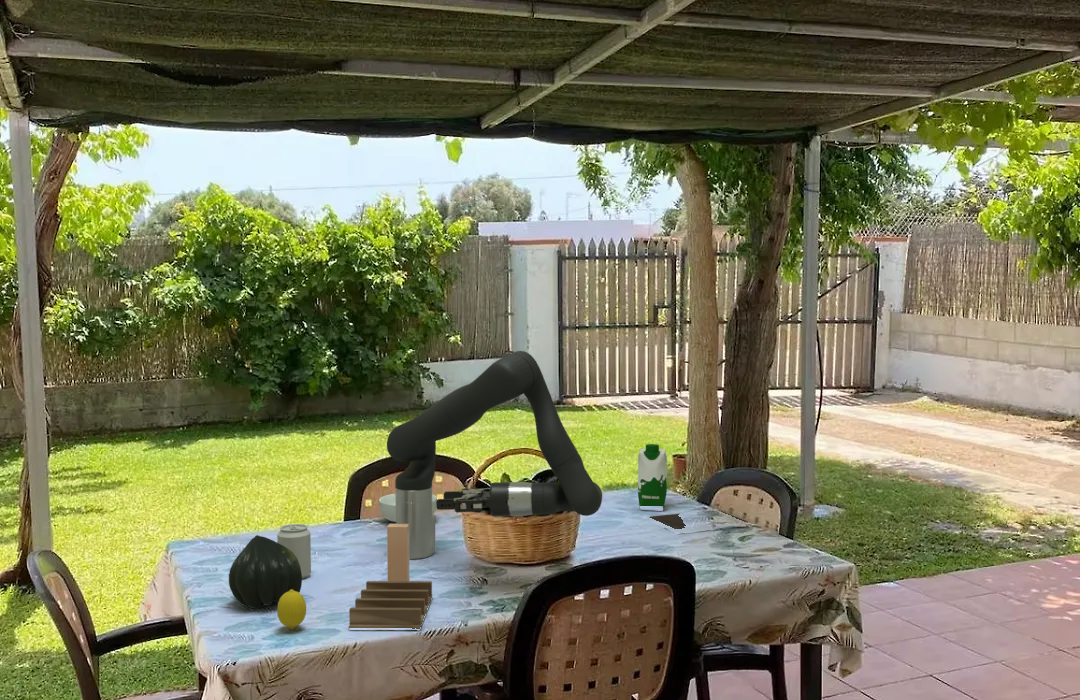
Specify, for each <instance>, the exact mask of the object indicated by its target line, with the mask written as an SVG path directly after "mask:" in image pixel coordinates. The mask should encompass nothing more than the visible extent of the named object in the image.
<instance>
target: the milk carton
mask: <svg viewBox="0 0 1080 700" xmlns="http://www.w3.org/2000/svg"><path fill="white" fill-rule="evenodd" d="M667 456H668V455H667V450H666V448H665V449H663V448H662V449H661V448H660V445H659V444H655V443H654V444H653V443H647V444H645V448H641V449H640V450H639V452H638V457H637V459H638V460H637V461H638V462H637V498H638V505H639V506H664V507H665V505H664V504H665V503H666V499H667V492H668V464H667V463H668V457H667Z"/></svg>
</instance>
